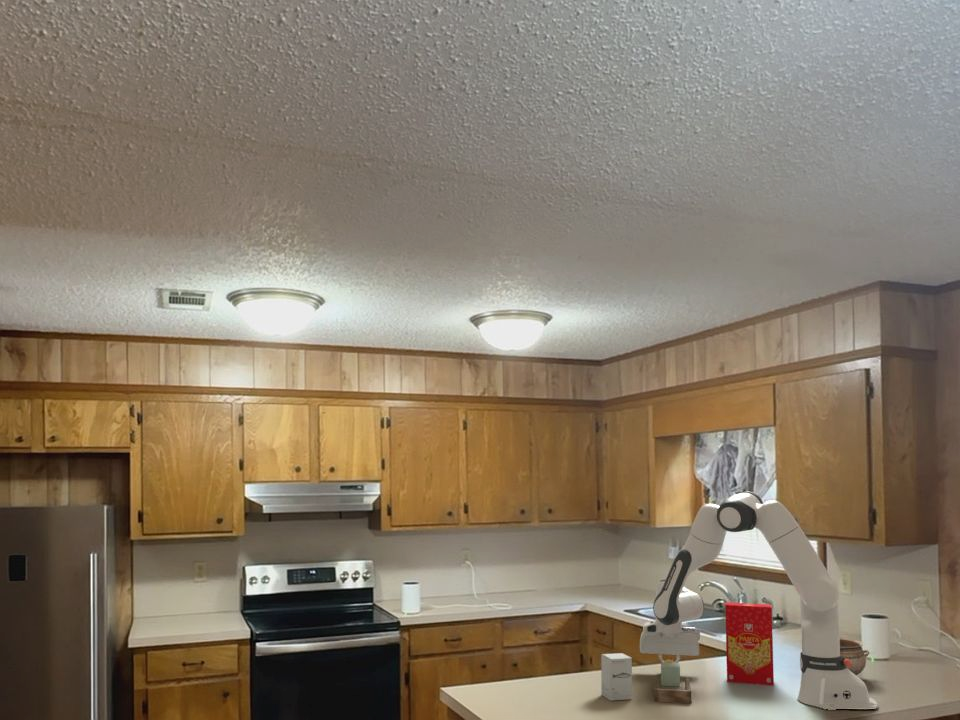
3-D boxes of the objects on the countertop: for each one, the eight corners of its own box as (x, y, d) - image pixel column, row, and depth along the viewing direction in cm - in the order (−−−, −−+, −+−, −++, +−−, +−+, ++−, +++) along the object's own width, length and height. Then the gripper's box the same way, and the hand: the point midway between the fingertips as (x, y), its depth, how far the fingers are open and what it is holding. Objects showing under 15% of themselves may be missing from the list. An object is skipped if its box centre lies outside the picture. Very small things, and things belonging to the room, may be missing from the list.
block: (678, 673, 304) (678, 655, 305) (680, 686, 288) (679, 667, 288) (660, 672, 306) (660, 654, 306) (661, 685, 289) (661, 666, 290)
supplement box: (610, 701, 270) (610, 658, 271) (600, 695, 277) (600, 653, 278) (632, 699, 272) (632, 657, 273) (622, 693, 279) (622, 652, 280)
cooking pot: (851, 670, 310) (850, 634, 312) (887, 684, 292) (885, 646, 293) (787, 673, 305) (786, 637, 307) (819, 688, 287) (817, 649, 288)
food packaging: (727, 681, 294) (725, 604, 296) (727, 678, 299) (725, 602, 301) (773, 685, 290) (771, 607, 292) (773, 681, 295) (771, 604, 297)
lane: (689, 689, 284) (688, 678, 285) (691, 703, 269) (691, 691, 269) (654, 687, 286) (653, 676, 287) (654, 701, 271) (654, 689, 271)
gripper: (699, 625, 307) (700, 666, 306) (639, 623, 311) (639, 663, 310) (700, 629, 301) (701, 671, 300) (639, 626, 305) (639, 668, 304)
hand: (669, 667), depth 305 cm, fingers closed on block, 2 cm apart
